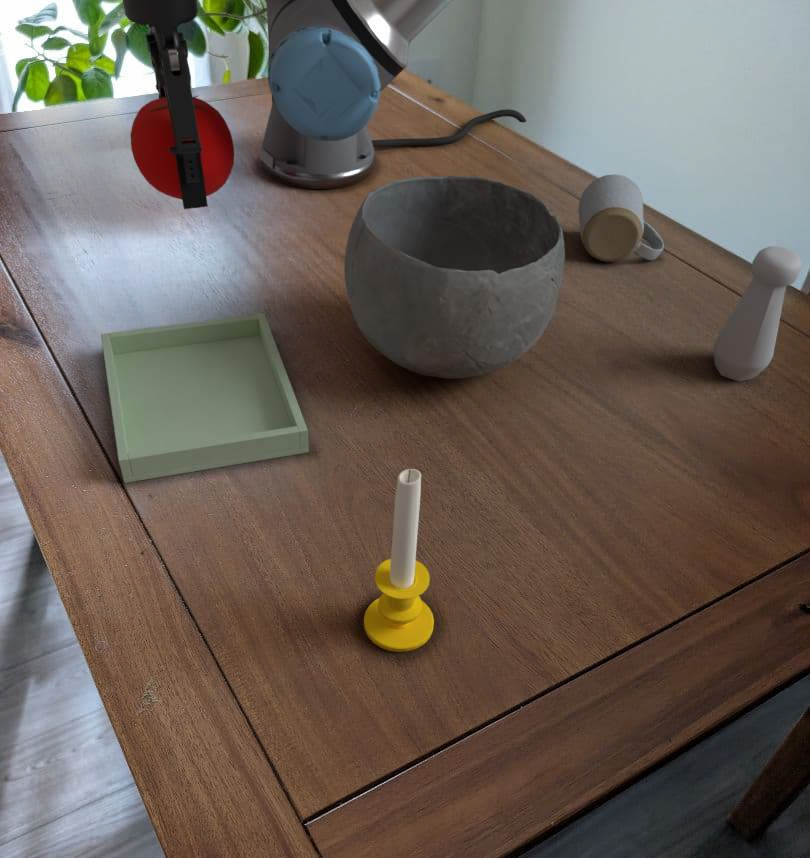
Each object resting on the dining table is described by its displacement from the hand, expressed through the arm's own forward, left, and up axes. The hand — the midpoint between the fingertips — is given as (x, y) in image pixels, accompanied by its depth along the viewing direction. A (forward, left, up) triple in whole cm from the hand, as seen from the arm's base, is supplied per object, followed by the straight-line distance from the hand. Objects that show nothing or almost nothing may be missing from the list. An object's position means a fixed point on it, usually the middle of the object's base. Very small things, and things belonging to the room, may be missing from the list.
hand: (188, 183), depth 103 cm
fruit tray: (+4, +38, -4) cm, 38 cm away
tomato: (0, 0, -1) cm, 1 cm away
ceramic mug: (-49, +20, -4) cm, 53 cm away
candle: (-6, +68, -4) cm, 68 cm away
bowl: (-21, +36, -4) cm, 42 cm away
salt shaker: (-49, +46, -4) cm, 67 cm away
